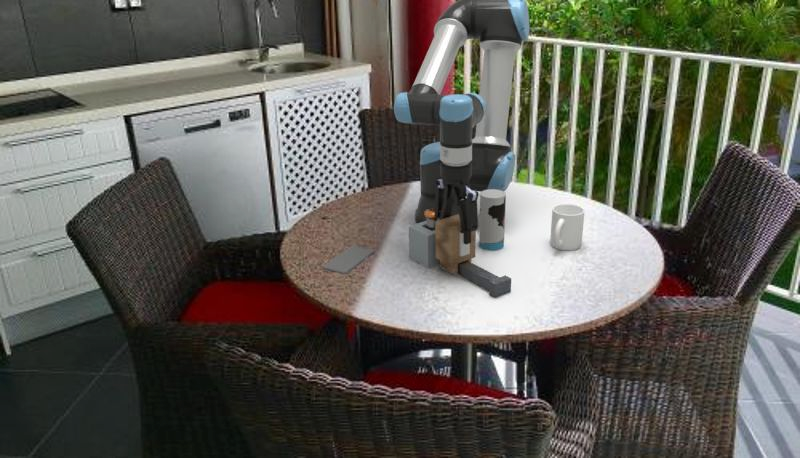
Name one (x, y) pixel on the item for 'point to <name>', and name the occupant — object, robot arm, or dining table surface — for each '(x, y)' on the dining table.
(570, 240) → the mug
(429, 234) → the grey block with hole
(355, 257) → the smartphone
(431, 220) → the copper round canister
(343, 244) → the dining table surface
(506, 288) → the rail
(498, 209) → the white printed can
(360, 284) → the dining table surface
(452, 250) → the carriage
